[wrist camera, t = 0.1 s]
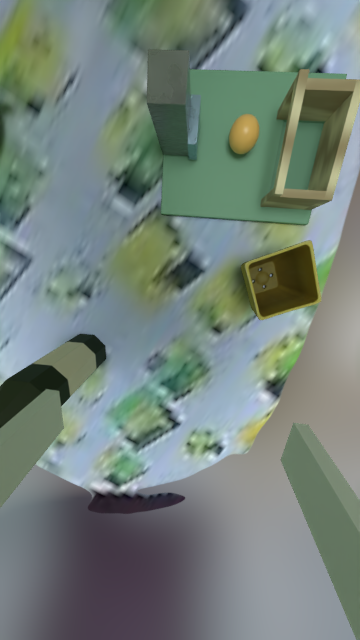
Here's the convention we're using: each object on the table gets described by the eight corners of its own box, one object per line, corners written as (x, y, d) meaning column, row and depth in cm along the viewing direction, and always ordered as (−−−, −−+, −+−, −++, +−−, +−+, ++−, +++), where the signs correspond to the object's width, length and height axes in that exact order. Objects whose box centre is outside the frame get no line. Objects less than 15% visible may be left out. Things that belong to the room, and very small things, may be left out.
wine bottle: (64, 339, 42) (-223, 507, 13) (96, 328, 40) (-147, 491, 12) (81, 370, 44) (-134, 574, 15) (113, 361, 42) (-60, 568, 14)
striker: (164, 117, 28) (148, 42, 18) (200, 118, 27) (202, 43, 18) (163, 158, 29) (146, 109, 20) (196, 160, 29) (196, 111, 19)
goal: (276, 112, 27) (300, 69, 21) (333, 114, 27) (374, 71, 21) (259, 207, 31) (274, 193, 25) (308, 210, 30) (337, 197, 24)
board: (168, 75, 27) (167, 68, 26) (341, 80, 26) (347, 74, 25) (161, 214, 33) (160, 213, 32) (304, 225, 31) (308, 224, 30)
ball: (229, 126, 28) (234, 104, 24) (257, 127, 27) (266, 105, 24) (225, 159, 29) (229, 143, 25) (251, 160, 29) (260, 145, 25)
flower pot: (282, 244, 33) (313, 238, 24) (291, 292, 35) (323, 302, 26) (232, 262, 34) (244, 262, 26) (244, 307, 36) (258, 321, 28)
